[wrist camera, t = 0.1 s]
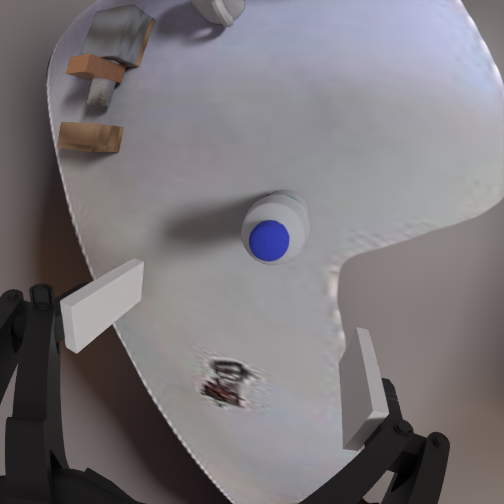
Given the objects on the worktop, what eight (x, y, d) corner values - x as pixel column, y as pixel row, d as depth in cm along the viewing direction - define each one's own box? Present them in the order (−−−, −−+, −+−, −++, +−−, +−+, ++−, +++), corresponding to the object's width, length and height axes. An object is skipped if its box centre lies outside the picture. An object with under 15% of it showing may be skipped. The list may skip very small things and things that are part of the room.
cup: (239, -11, 33) (224, -39, 24) (256, 28, 35) (243, 1, 26) (199, 3, 34) (179, -22, 26) (213, 43, 37) (192, 20, 28)
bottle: (305, 236, 43) (299, 291, 24) (260, 227, 43) (221, 273, 25) (314, 192, 40) (317, 211, 22) (268, 183, 41) (232, 194, 23)
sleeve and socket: (118, 24, 37) (95, 11, 30) (155, 20, 36) (133, 3, 29) (84, 147, 46) (57, 147, 38) (118, 152, 45) (90, 152, 37)
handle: (123, 21, 36) (91, 3, 27) (142, 18, 35) (112, -2, 26) (96, 106, 42) (58, 100, 33) (115, 106, 41) (77, 99, 32)
